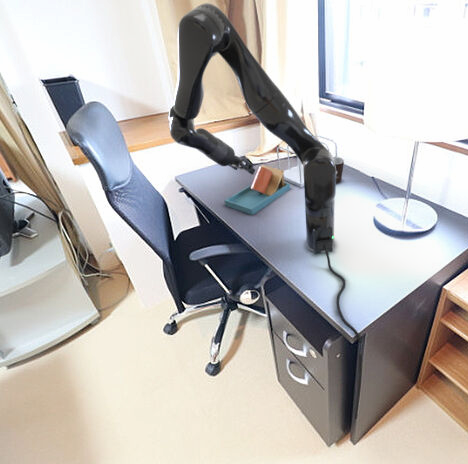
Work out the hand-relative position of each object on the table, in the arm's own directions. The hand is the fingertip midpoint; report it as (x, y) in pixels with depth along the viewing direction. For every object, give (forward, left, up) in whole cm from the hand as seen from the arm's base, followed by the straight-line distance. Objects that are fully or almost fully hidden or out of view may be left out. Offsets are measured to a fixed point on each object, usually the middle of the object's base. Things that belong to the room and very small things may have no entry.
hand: (245, 169), depth 125 cm
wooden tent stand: (+8, -9, -14) cm, 19 cm away
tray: (+4, -4, -15) cm, 16 cm away
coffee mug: (+11, -38, -10) cm, 41 cm away
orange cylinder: (+6, -6, -14) cm, 16 cm away
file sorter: (+21, -29, -15) cm, 39 cm away
